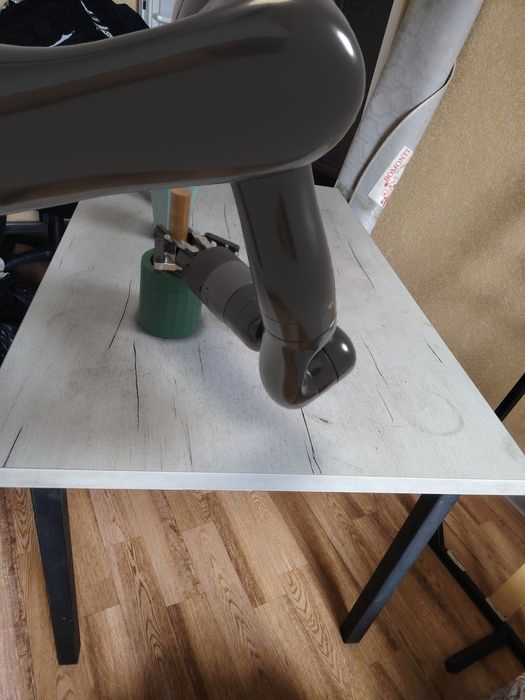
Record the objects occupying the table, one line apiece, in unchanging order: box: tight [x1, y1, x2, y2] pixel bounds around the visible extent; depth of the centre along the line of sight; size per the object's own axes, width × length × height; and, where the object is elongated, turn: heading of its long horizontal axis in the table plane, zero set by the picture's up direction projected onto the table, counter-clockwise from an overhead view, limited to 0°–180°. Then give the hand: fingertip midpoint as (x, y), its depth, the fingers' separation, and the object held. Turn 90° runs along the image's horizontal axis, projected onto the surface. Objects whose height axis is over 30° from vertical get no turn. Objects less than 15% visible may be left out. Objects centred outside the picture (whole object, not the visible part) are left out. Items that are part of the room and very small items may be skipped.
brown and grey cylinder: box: [163, 188, 192, 274], centre depth 71 cm, size 4×4×18 cm
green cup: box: [138, 247, 203, 340], centre depth 76 cm, size 10×10×11 cm
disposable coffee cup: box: [150, 186, 200, 230], centre depth 98 cm, size 11×11×15 cm
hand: (168, 229), depth 72 cm, fingers closed on brown and grey cylinder, 3 cm apart
